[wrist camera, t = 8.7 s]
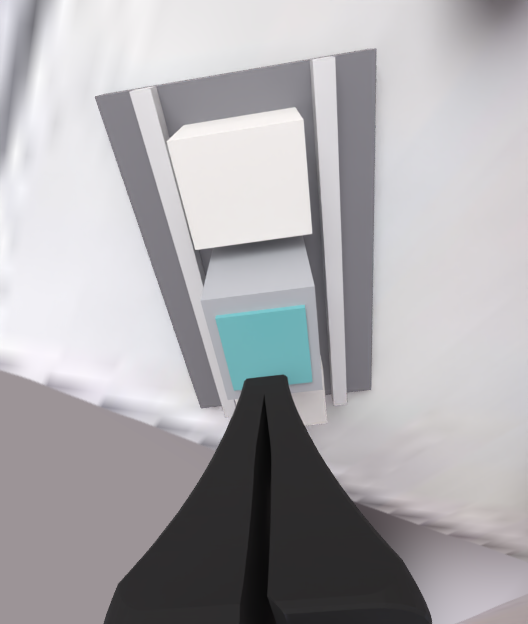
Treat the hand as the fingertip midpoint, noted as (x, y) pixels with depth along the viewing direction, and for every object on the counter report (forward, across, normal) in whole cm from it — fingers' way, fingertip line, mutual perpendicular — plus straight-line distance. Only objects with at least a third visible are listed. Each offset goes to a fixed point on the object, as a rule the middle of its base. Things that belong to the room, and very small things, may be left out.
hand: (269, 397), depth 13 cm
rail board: (+9, 0, 0) cm, 9 cm away
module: (+8, 0, 0) cm, 8 cm away
